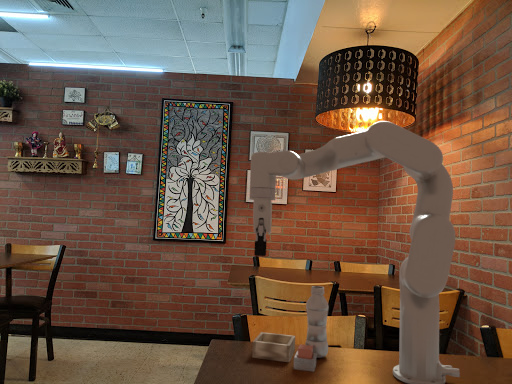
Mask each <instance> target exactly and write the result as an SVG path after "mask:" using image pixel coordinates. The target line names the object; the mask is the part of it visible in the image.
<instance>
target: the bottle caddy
mask: <svg viewBox="0 0 512 384" xmlns="http://www.w3.org/2000/svg"><path fill="white" fill-rule="evenodd" d="M294 351H295V352H296V335H291V334H290V335H289V334H283V333H282V334H281V333H271V332H263V331H261V332H259V334H258V335H257V336H256V337H255V338H254V339H253V341H252V359H253V358H254V359H262V360H269V361H277V362H286V363H290V361H291V360H292V357H293V356H294V354H295V352H294ZM293 353H294V354H293Z"/></svg>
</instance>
